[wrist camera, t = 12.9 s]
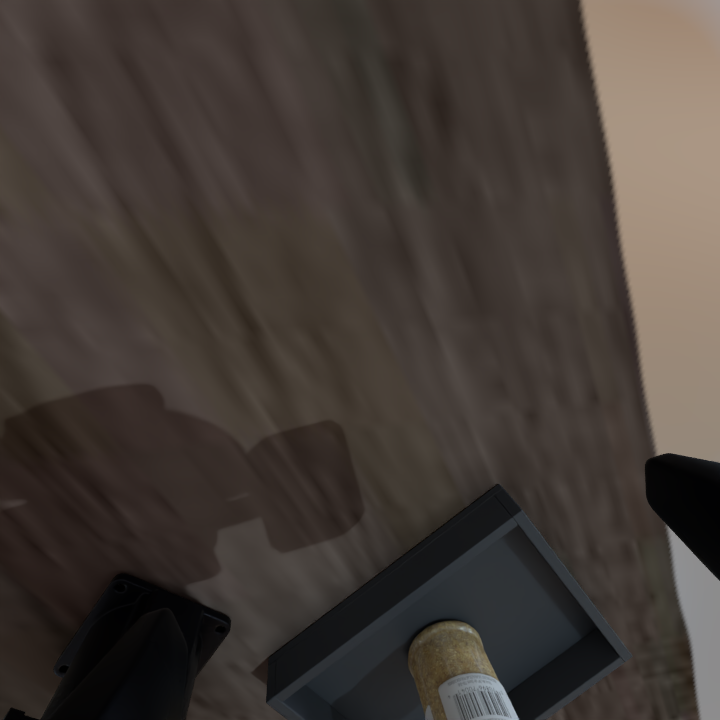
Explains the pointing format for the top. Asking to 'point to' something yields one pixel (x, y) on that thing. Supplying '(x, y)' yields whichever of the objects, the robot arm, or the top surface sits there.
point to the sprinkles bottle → (456, 675)
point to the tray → (448, 603)
